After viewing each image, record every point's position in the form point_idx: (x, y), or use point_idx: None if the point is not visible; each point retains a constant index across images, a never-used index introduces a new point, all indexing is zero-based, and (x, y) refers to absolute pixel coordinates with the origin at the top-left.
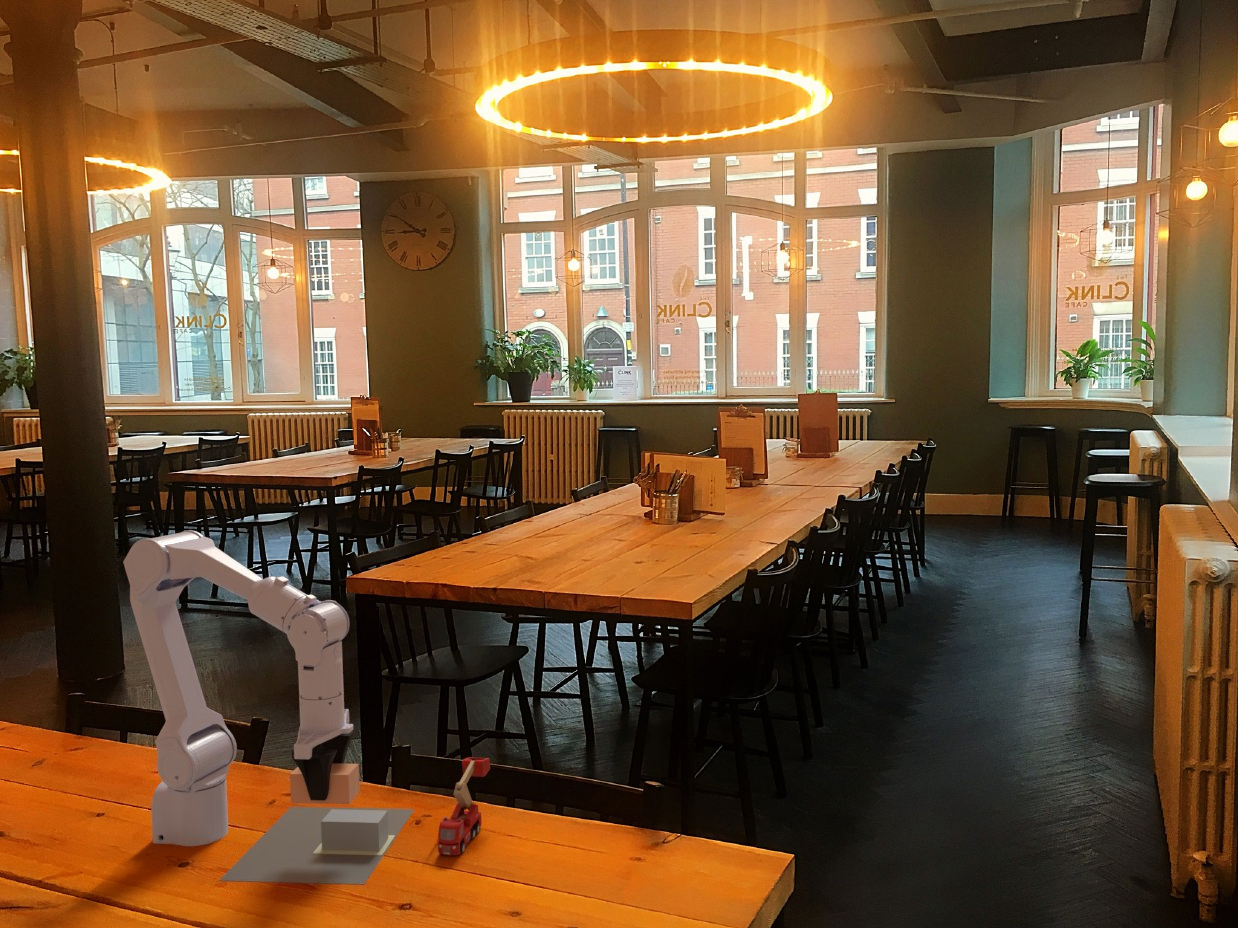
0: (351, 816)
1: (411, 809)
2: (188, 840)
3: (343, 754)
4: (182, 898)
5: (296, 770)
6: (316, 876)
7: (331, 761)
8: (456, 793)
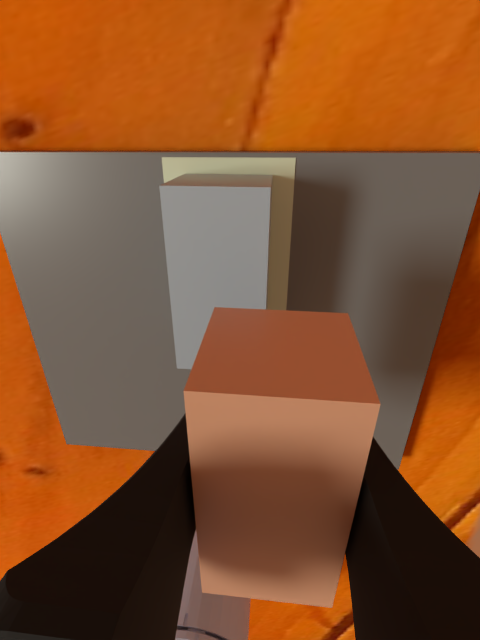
0: (221, 299)
1: None
2: None
3: (169, 509)
4: (417, 492)
5: (289, 595)
6: (412, 301)
7: (450, 579)
8: None
